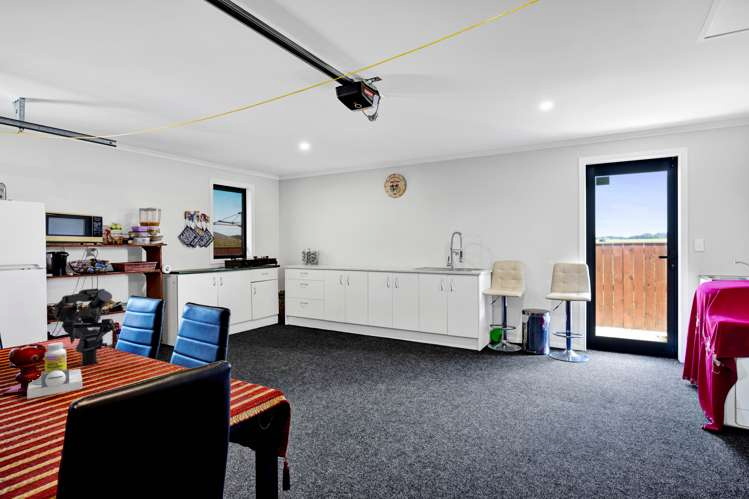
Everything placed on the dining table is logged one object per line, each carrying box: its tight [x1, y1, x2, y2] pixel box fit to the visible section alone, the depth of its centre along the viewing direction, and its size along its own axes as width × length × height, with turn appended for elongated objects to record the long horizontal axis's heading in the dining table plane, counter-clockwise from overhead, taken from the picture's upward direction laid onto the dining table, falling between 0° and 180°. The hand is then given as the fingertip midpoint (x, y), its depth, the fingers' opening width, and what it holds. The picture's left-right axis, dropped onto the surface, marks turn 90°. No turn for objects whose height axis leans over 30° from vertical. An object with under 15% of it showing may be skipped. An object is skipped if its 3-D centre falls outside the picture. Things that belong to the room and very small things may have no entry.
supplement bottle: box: [44, 341, 68, 373], centre depth 157 cm, size 7×7×13 cm
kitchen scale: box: [26, 368, 83, 400], centre depth 156 cm, size 21×16×8 cm
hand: (83, 342), depth 173 cm, fingers open, 9 cm apart
